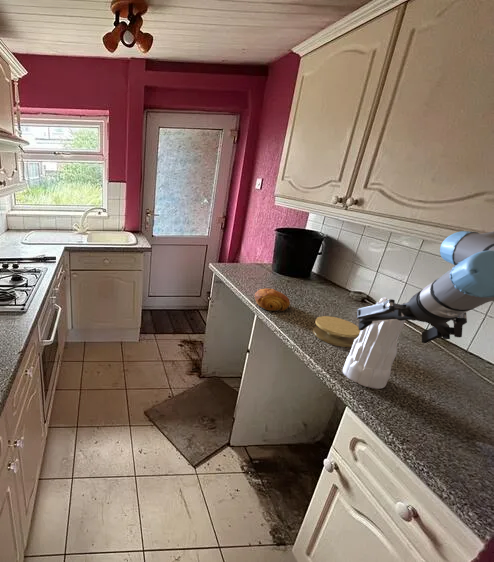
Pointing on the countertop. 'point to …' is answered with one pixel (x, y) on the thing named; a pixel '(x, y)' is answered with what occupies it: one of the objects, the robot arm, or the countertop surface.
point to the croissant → (271, 299)
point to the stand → (336, 331)
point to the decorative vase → (374, 353)
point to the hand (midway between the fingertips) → (390, 331)
